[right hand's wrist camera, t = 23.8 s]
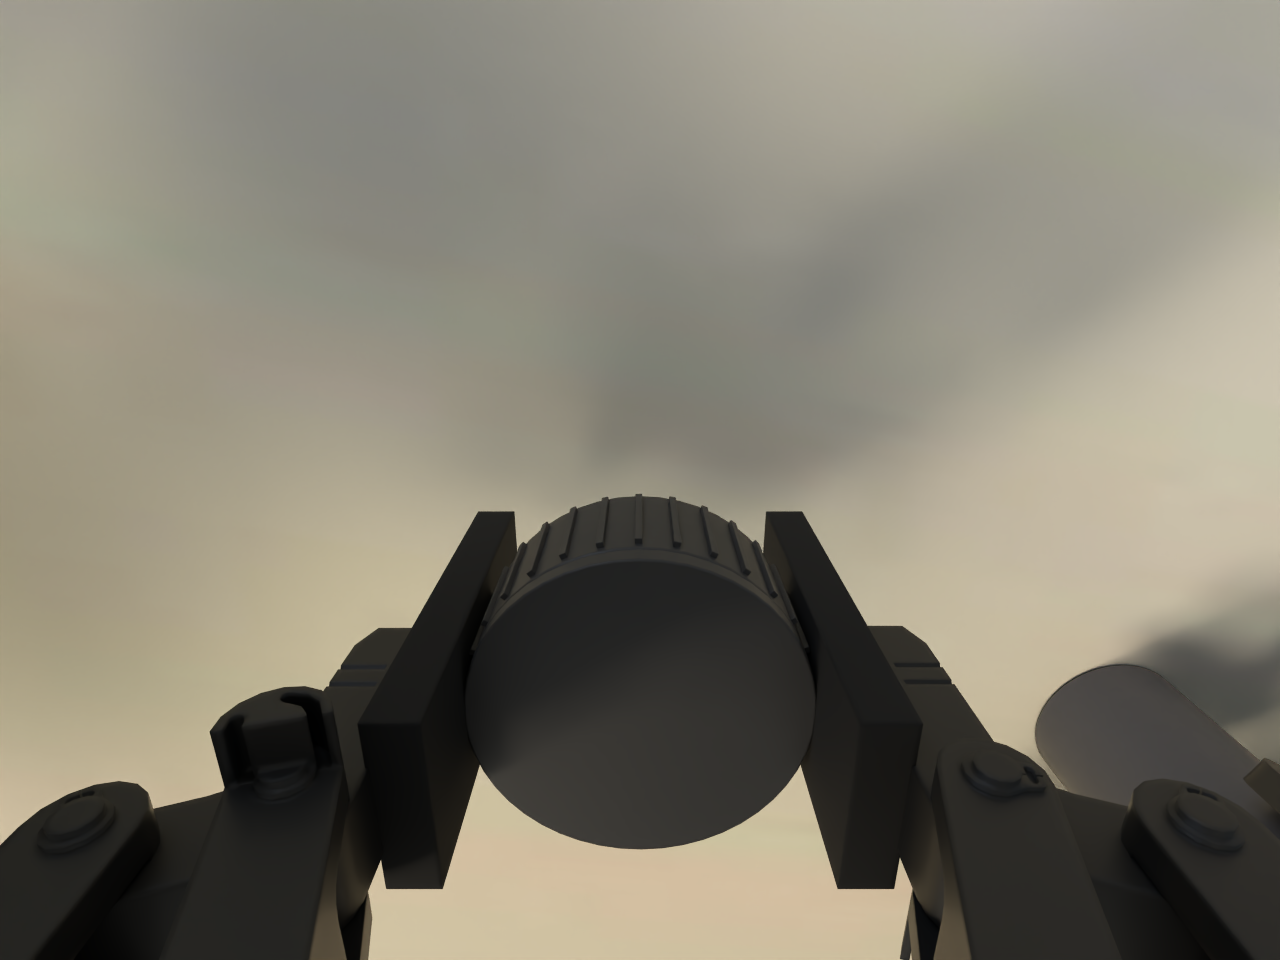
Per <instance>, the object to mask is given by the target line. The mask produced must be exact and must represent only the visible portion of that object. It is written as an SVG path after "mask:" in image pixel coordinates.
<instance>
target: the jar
mask: <svg viewBox="0 0 1280 960" xmlns="http://www.w3.org/2000/svg"><path fill="white" fill-rule="evenodd" d="M1036 743H1037V747H1038V750H1039V752H1040V754H1041V756H1042V757H1043V759H1044V760H1045V762H1046V763H1047V764H1048V765H1049V767H1050V768H1051V769H1052V771H1053V772H1054V773H1055V775H1056V776H1057V777H1058V779H1059V780H1060V781H1061V782H1062V784H1063V785H1064V786H1065V788H1066V789H1067V790H1068V792H1070V793H1074V794H1077V795H1082V796H1086V797H1090V798H1095V799H1099V800H1103V801H1108V802H1112V803H1116V804H1120V805H1125V806H1128V805H1129V802H1130V799H1131V796H1132V793H1133V790H1134V789H1135V788H1136V787H1138V786H1139V785H1140V784H1141V783H1142V782H1143V781H1148V780H1155V779H1162V778H1163V779H1170V780H1176V781H1183V782H1188V783H1191V784H1194V785H1196V786H1199V787H1203V788H1205V789H1208V790H1211V791H1213V792H1215V793H1217V794H1219V795H1221V796H1223V797H1225V798H1226V799H1228V800H1230V801H1232V802H1234V803H1236V804H1237V805H1239V806H1241V807H1242V808H1244V809H1245V810H1246V811H1247V812H1249V813H1250V814H1251V815H1252V816H1254V817H1255V818H1256V819H1257V820H1259V821H1260V822H1261V823H1262V824H1264V825H1265V826H1266V827H1267V828H1268V829H1269V830H1270V831H1271V832H1272V833H1273V834H1274V835H1275V836H1276V837H1277V838H1278V839H1279V840H1280V814H1279V813H1278V812H1277V811H1276V810H1275V809H1274V808H1273V807H1271V806H1270V805H1269V804H1268V803H1267V802H1266V801H1265V800H1264V799H1263V798H1262V797H1261V796H1259V795H1258V794H1257V793H1256V792H1255V791H1254V790H1253V789H1252V788H1251V787H1250V786H1249V785H1248V784H1247V783H1246V782H1245V781H1244V779H1243V778H1244V777H1245V776H1246V775H1247V774H1248V773H1249V772H1250V771H1251V770H1252V769H1253V768H1254V767H1255V766H1257V765H1258V764H1259V763H1260V762H1261V761H1259V760H1258V759H1257V758H1256V757H1255V756H1254V755H1252V754H1251V753H1250V752H1249V751H1248V750H1247V749H1246V748H1244V747H1243V746H1242V745H1241V744H1240V743H1239V742H1237V741H1236V740H1235V739H1234V738H1233V737H1232V736H1230V735H1229V734H1228V733H1227V732H1226V731H1225V730H1223V729H1222V728H1221V727H1220V726H1219V725H1218V724H1216V723H1215V722H1214V721H1213V720H1212V719H1211V718H1209V717H1208V716H1207V715H1206V714H1205V713H1204V712H1202V711H1201V710H1200V709H1199V708H1198V707H1197V706H1195V705H1194V704H1193V703H1192V702H1191V701H1190V700H1188V699H1187V698H1186V697H1185V696H1184V695H1183V694H1182V693H1180V692H1179V691H1178V690H1177V689H1176V688H1175V687H1173V686H1172V685H1171V684H1170V683H1169V682H1168V681H1166V680H1165V679H1164V678H1163V677H1162V676H1160V675H1159V674H1157V673H1155V672H1153V671H1151V670H1148V669H1145V668H1141V667H1137V666H1130V665H1117V666H1109V667H1104V668H1099V669H1096V670H1093V671H1090V672H1087V673H1085V674H1083V675H1081V676H1079V677H1077V678H1075V679H1073V680H1072V681H1070V682H1069V683H1067V684H1066V685H1064V686H1063V687H1062V688H1061V689H1059V690H1058V691H1057V692H1056V693H1055V694H1054V695H1053V696H1052V697H1051V698H1050V700H1049V701H1048V702H1047V704H1046V705H1045V707H1044V708H1043V710H1042V712H1041V714H1040V716H1039V718H1038V722H1037V725H1036Z"/></svg>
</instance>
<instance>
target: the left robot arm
mask: <svg viewBox="0 0 1280 960" xmlns="http://www.w3.org/2000/svg"><path fill="white" fill-rule="evenodd" d="M1243 779H1244V781H1245V782H1246V783H1247V784H1248V785H1249V786H1250V787H1251V788H1252V789H1253V790H1254V791H1255V792H1256V793H1257V794H1258V795H1259V796H1261V797H1262V798H1263V799H1264V800H1265V801H1266V802H1267V803H1268V804H1269V805H1270V806H1271V807H1273V808H1274V809H1275V810H1276V811H1277V812H1278V813H1279V814H1280V765H1279V764H1277V763H1275V762H1273V761H1271V760H1269V759H1266V758H1264V759H1263V760H1262V761H1261V762H1260V763H1259V764H1258V765H1257V766H1255V767H1254V768H1253V769H1252V770H1251V771H1250V772H1249V773H1248V774H1247V775H1246V776H1245V777H1244V778H1243Z"/></svg>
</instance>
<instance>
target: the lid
mask: <svg viewBox="0 0 1280 960" xmlns="http://www.w3.org/2000/svg"><path fill="white" fill-rule="evenodd" d="M809 652H810V648H809V645H808V643H807V640H806V638H805V635H804V633H803V630H802V628H801V625H800V623H799V621H798V618H797V616H796V613H795V611H794V608H793V606H792V603H791V601H790V598H789V596H788V593H787V591H786V590H785V588H784V585H783V583H782V580H781V578H780V575H779V573H778V570H777V568H776V566H775V564H772V565H770V564H769V563H768V561H767V560H766V558H765V557H764V555H763V553H762V550H761V547H760V545H759V543H758V542H757V541H756V540H755V541H754V542H752V541H751V540H750V539H749V538H748V537H747V536H746V535H745V534H743V533H742V532H741V531H740V530H738V529H737V525H736V523H735V522H733V521H732V520H731V521H730V522H727V521H726V520H724V519H722V518H721V517H719V516H718V515H716V514H713V513H711V512H709V511H708V508H707V507H705V506H701V508H700V507H698V506H694V505H691V504H688V503H685V502H681V501H677V500H676V498H675V497H669V499H666V498H660V497H643V496H642V494H636V496H635V497H621V498H614V499H608V497H605V498H602V501H599V502H596V503H592V504H589V505H586V506H583V507H580V508H578V509H577V508H576V507H573V508H571V509H570V512H569V513H567V514H565V515H563V516H561V517H559V518H558V519H556V520H555V521H553V522H552V523H550V524H549V523H548V522H546V523H544V524H543V525H542V528H541V531H540V532H538V533H537V534H536V535H535V536H534V537H533V538H531V539H530V540H529V542H528V543H527V544H525V543H524V542H522V543H521V545H520V546H519V549H518V551H517V554H516V556H515V559H514V560H513V562H512V564H511V565H510V567H507V566H505V567H504V569H503V570H502V573H501V575H500V578H499V580H498V583H497V585H496V588H495V590H494V592H493V595H492V597H491V600H490V602H489V605H488V607H487V610H486V612H485V615H484V617H483V620H482V622H481V625H480V627H479V630H478V632H477V634H476V637H475V639H474V642H473V644H472V647H471V649H470V653H469V654H470V655H473V657H472V660H471V663H470V667H469V670H468V674H467V677H466V683H465V691H464V706H465V716H466V725H467V733H468V737H469V740H470V743H471V746H472V748H473V751H474V754H475V756H476V758H477V760H478V762H479V763H480V765H481V767H482V769H483V771H484V772H485V774H486V775H487V776H488V778H489V779H490V781H491V782H492V783H493V785H494V786H495V787H496V788H497V789H498V790H499V791H500V792H501V793H502V795H503V796H504V797H505V798H506V799H507V800H508V801H509V802H511V803H512V804H513V805H514V806H516V807H517V808H518V809H519V810H520V811H522V812H523V813H524V814H526V815H527V816H529V817H530V818H532V819H534V820H535V821H537V822H538V823H540V824H542V825H544V826H546V827H548V828H550V829H552V830H554V831H556V832H558V833H560V834H563V835H566V836H569V837H571V838H574V839H577V840H580V841H584V842H588V843H592V844H596V845H600V846H607V847H614V848H623V849H656V848H667V847H673V846H680V845H685V844H689V843H693V842H696V841H700V840H704V839H707V838H709V837H712V836H715V835H717V834H720V833H723V832H725V831H727V830H729V829H731V828H733V827H735V826H737V825H739V824H741V823H742V822H744V821H745V820H747V819H748V818H750V817H752V816H753V815H755V814H756V813H758V812H759V811H760V810H761V809H763V808H764V807H765V806H766V805H767V804H769V803H770V802H771V801H772V800H773V799H774V798H775V797H776V796H777V795H778V794H779V793H780V792H781V791H782V790H783V789H784V788H785V786H786V785H787V784H788V783H789V781H790V780H791V778H792V777H793V776H794V774H795V773H796V771H797V770H798V768H799V766H800V764H801V762H802V760H803V759H804V757H805V755H806V753H807V750H808V747H809V744H810V741H811V738H812V735H813V729H814V721H815V711H816V698H817V695H816V688H815V681H814V675H813V672H812V669H811V666H810V663H809V659H808V656H807V654H806V653H809Z"/></svg>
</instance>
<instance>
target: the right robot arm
mask: <svg viewBox="0 0 1280 960" xmlns="http://www.w3.org/2000/svg"><path fill="white" fill-rule="evenodd" d="M516 554H517V544H516V529H515V515H514V512H478V513H477V515H476V517H475V518H474V520H473V522H472V524H471V525H470V527H469V529H468V531H467V532H466V534H465V536H464V538H463V539H462V541H461V543H460V545H459V546H458V548H457V550H456V552H455V553H454V555H453V557H452V559H451V560H450V562H449V564H448V566H447V567H446V569H445V571H444V573H443V574H442V576H441V578H440V580H439V581H438V583H437V585H436V587H435V588H434V590H433V592H432V594H431V595H430V597H429V599H428V601H427V602H426V604H425V606H424V608H423V609H422V611H421V613H420V615H419V616H418V618H417V620H416V622H415V623H414V625H413V627H412V628H378V629H377V630H375V631H374V632H373V633H371V634H370V635H368V636H367V637H366V638H364V639H363V640H361V641H360V642H359V643H357V644H356V645H355V646H354V647H353V649H352V650H351V652H350V653H349V655H348V656H347V657H346V659H345V660H344V662H343V663H342V665H341V669H340V670H338V671H337V672H336V674H335V675H334V676H333V678H332V679H331V681H330V684H329V687H326V688H325V690H324V691H322V690H318V689H314V688H310V687H306V686H301V687H283V688H279V689H275V690H271V691H267V692H264V693H260V694H258V695H256V696H254V697H252V698H249V699H247V700H245V701H243V702H241V703H239V704H237V705H236V706H235V707H233V708H232V709H231V710H229V711H228V712H227V713H225V714H224V715H223V716H221V717H220V719H219V720H218V721H217V723H216V724H215V725H214V727H213V728H212V729H211V731H210V735H211V739H212V742H213V746H214V750H215V753H216V757H217V761H218V765H219V768H220V772H221V776H222V779H223V783H224V787H225V788H224V791H223V792H219V793H216V794H213V795H210V796H206V797H202V798H198V799H194V800H189V801H185V802H181V803H176V804H172V805H168V806H164V807H159V808H155V809H153V807H152V804H151V800H150V797H149V794H148V792H147V791H145V790H144V789H143V788H142V787H141V786H139V785H138V784H135V783H128V782H121V781H117V782H110V783H104V784H97V785H93V786H90V787H87V788H85V789H82V790H79V791H76V792H73V793H70V794H68V795H66V796H64V797H62V798H60V799H59V800H57V801H55V802H53V803H51V804H49V805H48V806H46V807H44V808H42V809H41V810H39V811H38V812H37V813H36V814H34V815H33V816H32V817H31V818H29V819H28V820H27V821H26V822H24V823H23V824H22V825H21V826H19V827H18V828H17V829H16V830H15V831H14V832H13V833H12V834H11V835H10V836H9V837H8V838H7V839H6V840H5V841H4V842H3V843H2V844H1V845H0V960H368V955H369V945H370V935H371V925H372V913H371V906H370V900H369V895H368V890H369V887H370V885H371V882H372V880H373V878H374V875H375V873H376V870H377V868H378V865H379V863H380V860H381V862H382V867H383V873H384V879H385V884H386V889H443V886H444V883H445V879H446V876H447V873H448V869H449V866H450V863H451V859H452V856H453V853H454V849H455V846H456V843H457V839H458V836H459V833H460V829H461V826H462V823H463V819H464V816H465V812H466V809H467V806H468V802H469V799H470V796H471V792H472V789H473V786H474V782H475V779H476V776H477V772H478V769H479V766H480V763H479V762H478V760H477V758H476V756H475V754H474V751H473V748H472V746H471V743H470V740H469V737H468V733H467V725H466V716H465V706H464V691H465V683H466V677H467V674H468V670H469V667H470V663H471V660H472V657H473V655H470V654H469V653H470V649H471V647H472V644H473V642H474V639H475V637H476V634H477V632H478V630H479V627H480V625H481V622H482V620H483V617H484V615H485V612H486V610H487V607H488V605H489V602H490V600H491V597H492V595H493V592H494V590H495V588H496V585H497V583H498V580H499V578H500V575H501V573H502V570H503V569H504V567H505V566H507V567H510V565H511V564H512V562H513V560H514V559H515V556H516ZM763 555H764V557H765V558H766V560H767V561H768V563H769V564H770V565H772V564H775V566H776V568H777V570H778V573H779V575H780V578H781V580H782V583H783V585H784V588H785V590H786V591H787V593H788V596H789V598H790V601H791V603H792V606H793V608H794V611H795V613H796V616H797V618H798V621H799V623H800V625H801V628H802V630H803V633H804V635H805V638H806V640H807V643H808V645H809V648H810V652H809V653H806V654H807V656H808V659H809V663H810V666H811V669H812V672H813V675H814V681H815V688H816V695H817V698H816V711H815V721H814V729H813V735H812V738H811V741H810V744H809V747H808V750H807V753H806V755H805V757H804V759H803V760H802V762H801V768H802V771H803V774H804V778H805V781H806V784H807V788H808V791H809V794H810V798H811V801H812V804H813V808H814V811H815V814H816V818H817V821H818V824H819V828H820V831H821V835H822V838H823V841H824V845H825V848H826V851H827V855H828V858H829V861H830V865H831V868H832V871H833V875H834V878H835V881H836V885H837V888H838V889H894V887H895V881H896V875H897V870H898V864H899V859H901V861H902V863H903V866H904V868H905V871H906V873H907V875H908V878H909V880H910V883H911V885H912V888H913V889H912V895H911V900H910V905H909V910H908V916H907V921H906V926H905V931H904V937H903V942H902V949H901V956H900V959H902V960H909V959H910V954H912V960H1280V840H1279V839H1278V838H1277V837H1276V836H1275V835H1274V834H1273V833H1272V832H1271V831H1270V830H1269V829H1268V828H1267V827H1266V826H1265V825H1264V824H1262V823H1261V822H1260V821H1259V820H1257V819H1256V818H1255V817H1254V816H1252V815H1251V814H1250V813H1249V812H1247V811H1246V810H1245V809H1244V808H1242V807H1241V806H1239V805H1237V804H1236V803H1234V802H1232V801H1230V800H1228V799H1226V798H1225V797H1223V796H1221V795H1219V794H1217V793H1215V792H1213V791H1211V790H1208V789H1205V788H1203V787H1199V786H1196V785H1194V784H1191V783H1188V782H1183V781H1176V780H1170V779H1163V778H1162V779H1155V780H1148V781H1143V782H1142V783H1141V784H1140V785H1139V786H1138V787H1136V788H1135V789H1134V790H1133V793H1132V796H1131V799H1130V802H1129V805H1128V806H1125V805H1120V804H1116V803H1112V802H1108V801H1103V800H1099V799H1095V798H1090V797H1086V796H1082V795H1077V794H1074V793H1070V792H1067V791H1064V790H1061V789H1057V788H1056V787H1055V786H1054V784H1053V782H1052V781H1051V779H1050V778H1049V776H1048V775H1047V773H1046V772H1045V770H1043V769H1042V768H1041V767H1040V766H1039V765H1037V764H1036V763H1035V762H1034V761H1033V760H1031V759H1030V758H1029V757H1028V756H1026V755H1024V754H1022V753H1020V752H1018V751H1016V750H1014V749H1013V748H1011V747H1009V746H1007V745H1003V744H1000V743H996V742H994V741H993V740H992V738H991V737H990V735H989V734H988V732H987V731H986V730H985V728H984V727H983V725H982V724H981V722H980V721H979V719H978V718H977V716H976V715H975V714H974V712H973V711H972V709H971V708H970V706H969V705H968V703H967V702H966V700H965V699H964V698H963V696H962V695H961V693H960V692H959V690H958V689H957V687H956V686H955V685H954V684H952V683H951V679H950V677H949V676H948V674H947V673H946V671H945V670H944V669H943V667H940V663H939V661H938V660H937V658H936V657H935V656H934V654H933V653H932V651H931V650H930V648H929V647H928V645H927V644H926V643H925V642H924V641H922V640H921V639H919V638H918V637H917V636H915V635H914V634H913V633H911V632H910V631H908V630H907V629H906V628H904V627H903V626H867V624H866V623H865V621H864V619H863V617H862V616H861V614H860V612H859V610H858V609H857V607H856V605H855V603H854V602H853V600H852V598H851V596H850V595H849V593H848V591H847V589H846V588H845V586H844V584H843V582H842V581H841V579H840V577H839V575H838V574H837V572H836V570H835V568H834V567H833V565H832V563H831V561H830V560H829V558H828V556H827V554H826V553H825V551H824V549H823V547H822V546H821V544H820V542H819V540H818V539H817V537H816V535H815V533H814V532H813V530H812V528H811V526H810V525H809V523H808V521H807V519H806V518H805V516H804V514H803V512H766V521H765V536H764V550H763Z"/></svg>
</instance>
